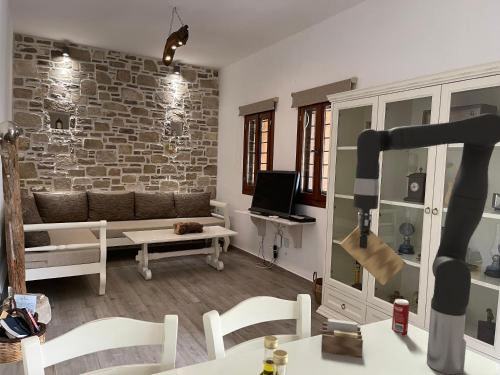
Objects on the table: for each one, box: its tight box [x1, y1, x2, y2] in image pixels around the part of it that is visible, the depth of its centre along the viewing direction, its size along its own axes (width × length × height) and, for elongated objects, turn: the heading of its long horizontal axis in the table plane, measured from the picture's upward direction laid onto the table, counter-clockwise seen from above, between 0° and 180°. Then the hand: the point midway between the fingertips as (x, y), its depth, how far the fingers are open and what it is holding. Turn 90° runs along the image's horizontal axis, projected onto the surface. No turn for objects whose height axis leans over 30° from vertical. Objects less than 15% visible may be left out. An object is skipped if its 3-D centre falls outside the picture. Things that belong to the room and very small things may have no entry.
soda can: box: [391, 298, 410, 338], centre depth 133 cm, size 5×5×12 cm
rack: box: [320, 321, 364, 359], centre depth 118 cm, size 12×11×6 cm
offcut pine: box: [334, 330, 358, 339], centre depth 115 cm, size 7×2×6 cm, turn 78°
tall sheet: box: [339, 225, 407, 286], centre depth 118 cm, size 10×2×18 cm
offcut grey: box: [327, 318, 358, 333], centre depth 118 cm, size 9×2×8 cm, turn 78°
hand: (362, 247), depth 119 cm, fingers closed on tall sheet, 2 cm apart
